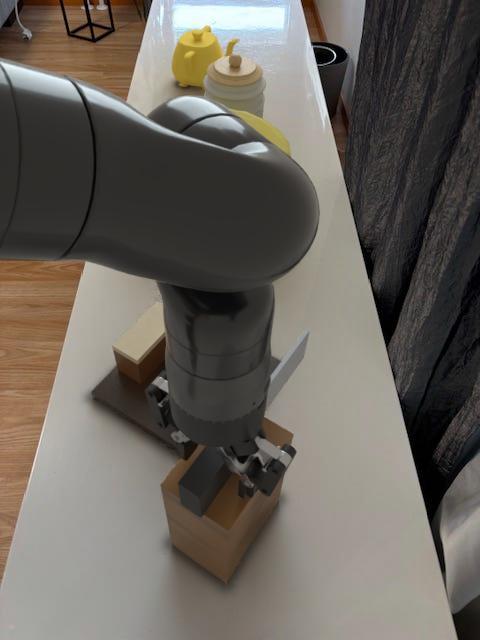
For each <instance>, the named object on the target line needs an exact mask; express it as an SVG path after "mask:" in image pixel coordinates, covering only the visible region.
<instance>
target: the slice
mask: <svg viewBox="0 0 480 640" xmlns="http://www.w3.org/2000/svg"><path fill="white" fill-rule="evenodd" d="M111 347H112V351H113V355H114V356H113V357H114V359H115V364H116V366H117V368H118V370H119V371H121V372H122V373H124V374H125V375H127V376H129V377H130V378H132V379H134V380H135V381H137V382H138V383H140V384H143V383H144V381H145V380H146V379H147V378H148V377H149V376H150V375H151V374H152V373H153V372H154V371H155V370H156V368H157V367H158V366H159V365H160V364H161V363H162V362H163V361H164V360H165V350H166V336H165V327H164V319H163V302H160V301H159V300H156V301H155V302H154V303H153V305H151V306H150V307H149V308H148V310H146V311H145V312H144V313H143V314H142V315H141V316H140V317H139V318H138V320H136V321H135V322H134V323H133V324H132V325H131V326H130V327H129V328H128V329H127V330H126V331H125V332H124V333H123V334H122V335H121V336H120V337H119V338H118V339H117V340H116V341H115V342H114V343H113V344H112V345H111Z"/></svg>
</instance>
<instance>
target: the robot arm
mask: <svg viewBox="0 0 480 640" xmlns="http://www.w3.org/2000/svg"><path fill="white" fill-rule="evenodd" d="M319 202H320V201H319V197H318V194H317V190H316V187H315V185H314V184H313V181H312V180H311V178H310V176H309V175H308V173H307V172H306V171H305V170H304V168H303V167H302V166H301V165H300V164H299V163H298V162H297V161H296V159H293V157H292V156H291V157H290V156H289V155H287V154H286V153H285V152H284V151H282V150H281V149H280V148H278V147H277V146H276V145H275V144H273V143H272V142H271V141H269V140H268V139H267V138H266V137H264V136H263V135H262V134H260V133H259V132H258V131H257V130H255V129H254V128H253V127H251V126H250V125H249V124H248V123H246V122H245V121H244V120H243V119H242V118H240V117H239V116H238V115H237V114H235V113H234V112H233V111H231V110H230V109H229V108H227V107H226V106H224V105H223V104H221V103H219V102H217V101H214V100H212V99H210V98H207V97H204V95H202V96H201V95H193V94H192V95H191V94H187V95H186V94H185V95H180V96H175V97H172V98H170V99H167V100H166V101H163V102H162V103H161V104H158V105H157V106H156V107H155V108H154V109H153V110H151V111H150V112H149V113H148V114H147V116H146V115H145V114H143V113H142V112H141V111H139V110H138V109H136V108H135V107H134V106H132V104H130V103H128V102H127V101H126V100H125V99H124V98H122V97H120V96H118V95H116V94H115V93H113V92H111V91H109V90H107V89H105V88H102V87H100V86H98V85H95V84H93V83H90V82H88V81H85V80H82V79H79V78H76V77H73V76H70V75H67V74H62V73H58V72H55V71H51V70H47V69H44V68H40V67H37V66H33V65H29V64H25V63H21V62H18V61H16V60H15V61H14V60H12V59H7V58H4V57H0V262H78V261H79V262H87V263H90V264H94V265H97V266H101V267H104V268H108V269H111V270H114V271H117V272H121V273H124V274H127V275H130V276H135V277H139V278H143V279H147V280H152V281H155V283H156V285H157V286H156V287H157V288H158V291H159V293H160V296H161V300H162V302H161V303H162V304H163V319H164V327H165V336H166V350H165V366H166V371H165V370H163V371H162V372H161V373H160V374H159V375H158V377H157V378H156V379H155V380H154V381H153V382H152V383H151V384H150V385H149V386H148V388H147V389H146V390H145V393H146V396H147V399H148V402H149V406H150V409H151V412H152V415H153V418H154V421H155V423H156V425H157V426H158V427H159V428H161V429H163V430H165V429H166V428H167V427H168V428H169V429H170V430H171V431H172V434H171V437H172V438H173V439H174V440H175V442H176V448H177V450H178V451H179V453H178V454H179V458H180V459H181V458H182V459H183V460H185V461H187V460H188V459H189V458H190V456H191V455H192V454H193V453H194V451H195V450H196V449H197V447H198V445H199V444H200V445H203V446H207V447H213V449H214V451H215V452H216V453H218V454H220V456H221V457H222V459H223V461H224V463H225V464H226V466H227V468H228V469H229V471H231V472H233V473H236V474H237V475H238V477H239V478H240V480H239V486H238V496H240V497H241V498H243V499H245V498H246V497H247V496H249V497H250V498H252V497H253V496H254V495H255V493H256V492H257V490H258V489H259V491H260V492H261V493H262V494H263V495H266V496H268V497H270V496H271V494H272V493H273V491H274V489H275V488H276V486H277V484H278V482H279V481H280V479H281V478H282V477H283V476H284V477H285V475H284V474H286V472H287V471H288V469H289V467H290V465H291V463H292V462H293V460H294V459H295V456H296V455H297V450H296V448H295V447H294V446H292V444H291V445H289V444H284V445H283V447H282V448H281V447H279V446H277V447H276V446H275V445H273V444H272V443H270V442H269V441H267V440H266V433H265V431H264V429H263V427H262V423H263V419H264V417H265V414H266V411H265V409H266V402H267V394H268V388H269V386H270V382H271V376H270V372H271V363H272V356H273V355H272V345H271V343H272V334H273V326H274V317H275V311H276V309H275V308H276V292H275V291H276V290H275V287H274V284H273V283H274V282H276V281H278V280H279V279H282V278H283V277H284V276H286V275H287V274H289V273H290V272H291V271H292V270H294V269H295V268H296V267H297V266H298V265H299V264H300V263H301V262H302V260H303V259H304V258H305V257H306V255H307V254H308V253H309V251H310V250H311V247H312V245H313V244H314V242H315V239H316V237H317V233H318V229H319V225H320V215H321V213H320V203H319Z"/></svg>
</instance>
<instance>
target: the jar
mask: <svg viewBox="0 0 480 640" xmlns="http://www.w3.org/2000/svg"><path fill="white" fill-rule="evenodd" d="M263 75H264V72H263V68H262V67H261V66H260V65H259V64H258V63H257V62H255V61H254V60H252V59H250V58H249V57H247V56H242V55H240V53H237V52H232V54H231V55H230V56H225V57H222V58H220V59H218V60H217V61H215V62H213V63H211V64H210V65H209V67H208V69H207V75H206V76H205V78H204V80H203V85H204V88H205V89H206V90H205V91H204V93H203V97H207V98H210V99H212V100H214V101H217V102H219V103H221V104H223V105H224V106H226V107H227V108H229V109H233V110H238V111H246V112H248V113H251V114H253V115H255V116H257V117H260V118H264V107H265V101H266V97H265V94H264V92H265V90H266V87H267V81H266V79H265V78H264V76H263Z"/></svg>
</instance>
